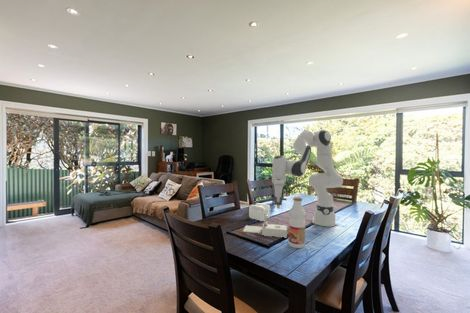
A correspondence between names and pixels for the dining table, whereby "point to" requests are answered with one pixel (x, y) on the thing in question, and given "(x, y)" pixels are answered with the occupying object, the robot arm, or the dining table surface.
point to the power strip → (274, 230)
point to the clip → (265, 218)
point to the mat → (252, 229)
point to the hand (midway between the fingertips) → (278, 200)
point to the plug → (279, 202)
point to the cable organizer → (258, 211)
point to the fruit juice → (297, 224)
